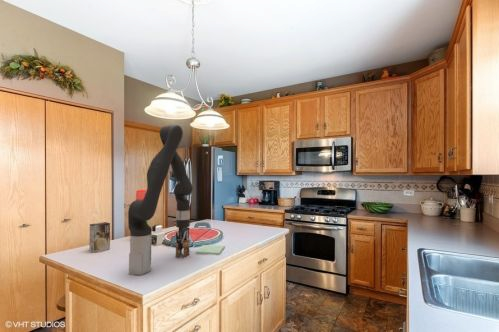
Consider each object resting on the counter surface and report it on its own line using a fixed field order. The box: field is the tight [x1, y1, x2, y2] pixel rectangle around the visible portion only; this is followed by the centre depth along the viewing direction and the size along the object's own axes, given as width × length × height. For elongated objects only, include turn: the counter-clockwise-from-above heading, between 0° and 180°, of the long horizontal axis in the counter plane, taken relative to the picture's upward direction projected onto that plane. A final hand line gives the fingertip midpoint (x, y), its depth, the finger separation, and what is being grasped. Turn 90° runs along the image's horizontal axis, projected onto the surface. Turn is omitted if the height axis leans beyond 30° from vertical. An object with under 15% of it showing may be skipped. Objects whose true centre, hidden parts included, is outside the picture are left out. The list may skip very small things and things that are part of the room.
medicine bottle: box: [151, 224, 166, 247], centre depth 164 cm, size 7×7×12 cm
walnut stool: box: [174, 239, 191, 258], centre depth 140 cm, size 6×6×8 cm
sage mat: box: [194, 244, 226, 256], centre depth 149 cm, size 14×14×1 cm
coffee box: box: [88, 221, 111, 254], centre depth 150 cm, size 9×6×16 cm
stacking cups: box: [135, 189, 149, 225], centre depth 173 cm, size 10×10×35 cm
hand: (182, 248), depth 140 cm, fingers closed on walnut stool, 6 cm apart
